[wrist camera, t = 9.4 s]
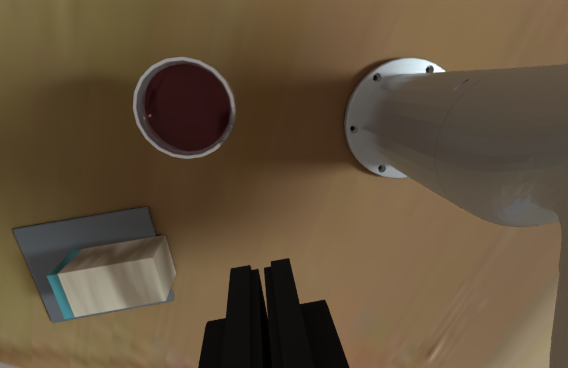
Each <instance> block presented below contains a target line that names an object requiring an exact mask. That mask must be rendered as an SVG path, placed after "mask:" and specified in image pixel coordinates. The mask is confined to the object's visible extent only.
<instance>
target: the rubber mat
mask: <svg viewBox="0 0 568 368" xmlns="http://www.w3.org/2000/svg"><path fill="white" fill-rule="evenodd" d="M13 232H14V234H15V237H16V239H17V241H18V244H19V246H20V248H21V251H22V253H23V255H24V257H25V260H26V262H27V264H28V267H29V269H30V271H31V274H32V276H33V278H34V281H35V283H36V285H37V288H38V290H39V292H40V295H41V297H42V299H43V302H44V304H45V306H46V309H47V311H48V313H49V316H50V318H51V320H52V323H55V322H61V321H66V320H72V319H77V318H83V317H88V316H94V315H99V314H105V313H110V312H116V311H121V310H127V309H132V308H138V307H143V306H149V305H154V304H160V303H165V302H171V301H174V296H173V292H172V289H171V288H170V291H169V294H168V296H167V299H166V301H162V302H157V303H151V304H146V305H140V306H135V307H129V308H124V309H118V310H113V311H107V312H102V313H96V314H91V315H85V316H79V317H74V318H68V319H64V316H63V314H62V312H61V309H60V307H59V304H58V302H57V299H56V297H55V295H54V292H53V290H52V287H51V285H50V282H49V280H48V278H47V275H48V274H49V273H50V272H51V271H52V270H54V269H55V268H56V267H57V266H58V265H59V264H60V263H61V262H62V261H63V260H64V259H65V258H66V257H67V256H68V255H69V254H70V253H71V252H72V251H74V250H80V249H85V248H91V247H97V246H103V245H109V244H115V243H121V242H127V241H133V240H138V239H144V238H150V237H156V233H155V229H154V226H153V222H152V219H151V215H150V212H149V208H148V206H146V207H140V208H134V209H128V210H122V211H116V212H110V213H104V214H98V215H92V216H86V217H80V218H74V219H68V220H62V221H56V222H50V223H43V224H37V225H31V226H25V227H19V228H15V229H13Z"/></svg>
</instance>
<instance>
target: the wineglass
mask: <svg viewBox="0 0 568 368" xmlns="http://www.w3.org/2000/svg"><path fill="white" fill-rule="evenodd" d="M133 111H134V115H135V119H136V123H137V126H138V127H139V129H140V130H141V132H142V134H143V135H144V137H145V139H146V140H148V141H149V142H150V143H151V144H152V145H153V146H154V147H155V148H156V149H158V150H160V151H162V152H164V153H166V154H168V155H170V156H172V157H178V158H184V159H191V158H198V157H203V156H205V155H207V154H209V153H211V152H214V151H216V150H217V149H218V148H219V147H220V146H221V145H222V144H223V143H224V142H225V141H226V140H227V138H228V136H229V135H230V133H231V131H232V129H233V127H234V125H235V122H236V115H237V104H236V98H235V93H234V91H233V89H232V87H231V85H230V83H229V81H228V80H227V79H226V78H225V77H224V76H223V75H222V73H221V72H220V71H219V70H218V69H216V68H215V67H213V66H211V65H209V64H208V63H206V62H204V61H201V60H196V59H191V58H186V57H176V58H168V59H164V60H162V61H160V62H158V63H156V64H154V65H152V66H151V67H150V68H149V69H148V70H147V71H146V72H145V73H144V74H143V75H142V76H141V77H140V80H139V82H138V84H137V87H136V89H135V91H134V99H133Z"/></svg>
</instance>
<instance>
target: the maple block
mask: <svg viewBox="0 0 568 368" xmlns="http://www.w3.org/2000/svg"><path fill="white" fill-rule="evenodd" d="M175 275H176V272H175V268H174V265H173V261H172V257H171V254H170V250H169V246H168V243H167V239H166V236H165V235H162V236H156V237H150V238H144V239H138V240H133V241H127V242H121V243H115V244H109V245H103V246H97V247H91V248H85V249H80V250H74V251H72V252H71V253H70V254H69V255H68V256H67V257H66V258H65V259H64V260H63V261H62V262H61V263H60V264H59V265H58V266H57V267H56V268H55V269H54V270H52V271H51V272H50V273H49V274H48V275H47V278H48V280H49V282H50V285H51V287H52V290H53V292H54V295H55V297H56V299H57V302H58V304H59V307H60V309H61V312H62V314H63V316H64V319H68V318H74V317H79V316H85V315H91V314H96V313H102V312H107V311H113V310H118V309H124V308H129V307H135V306H140V305H146V304H151V303H157V302H162V301H166V299H167V296H168V294H169V291H170V288H171V286H172V283H173V280H174V278H175Z"/></svg>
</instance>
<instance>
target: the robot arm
mask: <svg viewBox="0 0 568 368" xmlns="http://www.w3.org/2000/svg"><path fill="white" fill-rule="evenodd" d="M426 68H427V72H426ZM374 75H375V76H376V80H373V76H374ZM351 126H353V127H354V129H353V130H350V127H351ZM344 131H345V136H346V140H347V144H348V146H349V148H350V150H351V152H352V154H353V155H354V156H355V158H356V159H357V161H359V162H360V163H361V164H362V165H363V166H364V167H365V168H367V169H368V170H370V171H371V172H373V173H375V174H377V175H380V176H384V177H388V178H406V177H410V178H411V179H413V180H415V181H416V182H418V183H420V184H421V185H423V186H425V187H427V188H428V189H430V190H432V191H433V192H435V193H437V194H438V195H440V196H442V197H443V198H445V199H447V200H448V201H450V202H452V203H454V204H455V205H457V206H459V207H460V208H462V209H464V210H466V211H468V212H470V213H471V214H473V215H475V216H477V217H479V218H481V219H483V220H486V221H488V222H491V223H494V224H498V225H503V226H511V227H530V226H539V225H545V224H550V223H554V222H558V221H560V224H561V235H562V236H561V252H560V260H559V273H560V274H559V282H558V290H557V298H556V306H555V314H554V321H553V329H552V337H551V349H550V367H549V368H568V64H563V65H552V66H537V67H519V68H508V69H489V70H470V71H451V72H446V71H445V70H444V69H443V68H441V67H440V66H438V65H437V64H436V63H433V62H431V61H428V60H426V59H421V58H415V57H410V58H399V59H394V60H391V61H388V62H385V63H383V64H381V65H379V66H377V67H376V68H374V69H372V70H371V71H370V72H369V73H368V74H367V75H366V76H364V77H363V78H362V80H361V81H360V82H359V83H358V85H357V86H356V87H355V89H354V91H353V93H352V94H351V96H350V98H349V101H348V104H347V107H346V111H345V118H344ZM380 165H381V168H379V169H378V167H379V166H380ZM264 275H265V287H266V299H267V311H268V317H267V312H266V307H265V301H264V296H263V291H262V285H261V280H260V275H259V270H258V269H255V270H251V266H250V265H248V266H242V267H237V268H231V271H230V281H229V291H228V301H227V312H226V318H224V319H218V320H213V321H208V322H207V324H206V327H205V333H204V338H203V344H202V350H201V355H200V361H199V366H198V368H349V365H348V362H347V360H346V357H345V354H344V351H343V348H342V345H341V342H340V340H339V337H338V334H337V331H336V328H335V325H334V323H333V320H332V317H331V314H330V311H329V308H328V306H327V303H326V301H325V300H320V301H315V302H310V303H304V304H300V303H299V299H298V295H297V290H296V286H295V281H294V277H293V273H292V268H291V264H290V260H289V258H287V259H282V260H276V261H271V267H266V268H264Z"/></svg>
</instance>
